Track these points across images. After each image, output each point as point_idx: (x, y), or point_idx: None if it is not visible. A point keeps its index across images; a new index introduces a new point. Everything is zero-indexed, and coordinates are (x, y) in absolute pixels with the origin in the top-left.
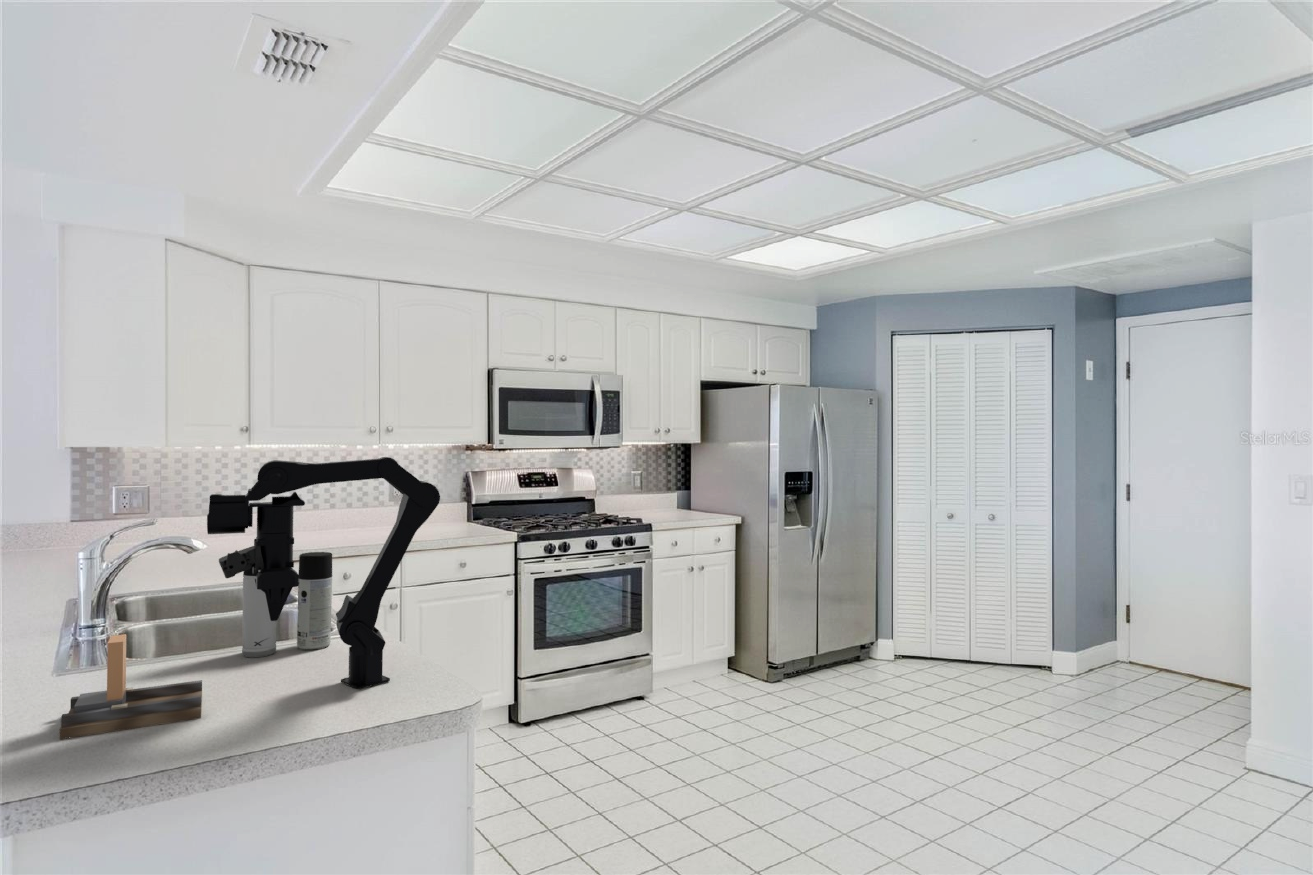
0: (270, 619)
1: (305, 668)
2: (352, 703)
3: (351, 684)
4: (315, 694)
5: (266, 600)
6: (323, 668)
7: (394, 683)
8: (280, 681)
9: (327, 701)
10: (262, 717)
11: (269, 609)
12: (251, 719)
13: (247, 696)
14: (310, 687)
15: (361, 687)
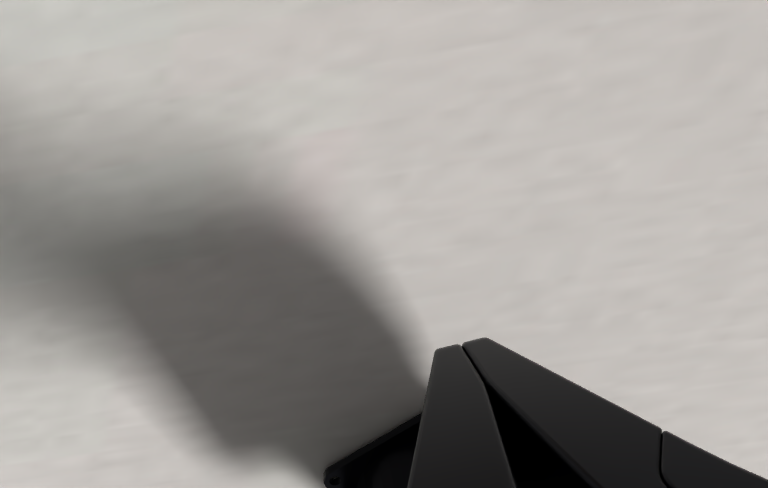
0: (438, 354)
1: (704, 241)
2: (170, 472)
3: (362, 454)
4: (317, 335)
5: (602, 463)
6: (668, 311)
7: None
8: (556, 166)
9: (214, 390)
10: (40, 175)
11: (416, 442)
12: (16, 131)
13: (374, 49)
14: (420, 302)
15: (328, 485)
